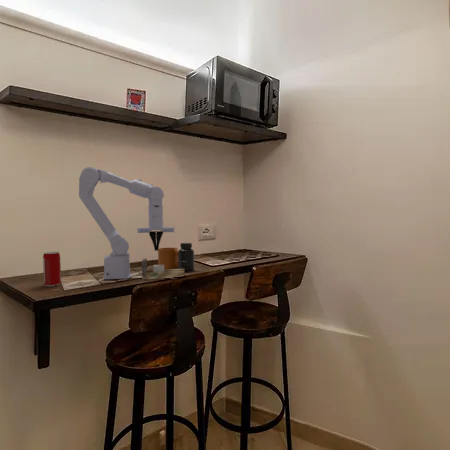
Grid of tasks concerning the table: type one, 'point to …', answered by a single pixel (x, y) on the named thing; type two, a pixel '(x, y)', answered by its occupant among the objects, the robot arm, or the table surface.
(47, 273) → the soda can
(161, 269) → the carriage
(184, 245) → the supplement bottle
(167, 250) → the mug
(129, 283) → the table surface
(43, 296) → the table surface
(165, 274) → the gauge bed
